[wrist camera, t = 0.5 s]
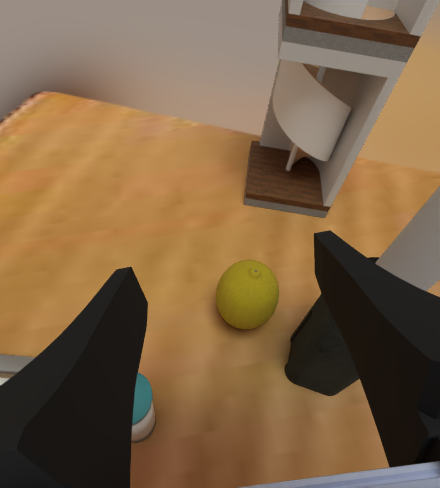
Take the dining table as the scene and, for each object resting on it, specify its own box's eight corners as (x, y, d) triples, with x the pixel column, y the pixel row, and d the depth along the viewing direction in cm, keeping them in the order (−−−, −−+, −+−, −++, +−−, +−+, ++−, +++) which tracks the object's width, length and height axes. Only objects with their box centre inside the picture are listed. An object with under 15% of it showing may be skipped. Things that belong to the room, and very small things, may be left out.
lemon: (216, 345, 30) (227, 304, 24) (208, 293, 34) (216, 245, 27) (273, 339, 31) (298, 298, 25) (260, 289, 34) (279, 241, 28)
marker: (153, 445, 25) (146, 426, 19) (113, 442, 25) (93, 422, 19) (159, 402, 27) (155, 373, 21) (122, 399, 26) (107, 369, 20)
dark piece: (292, 328, 32) (474, 59, 13) (343, 346, 32) (616, 92, 12) (282, 379, 29) (505, 124, 9) (339, 400, 28) (701, 174, 9)
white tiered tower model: (249, 152, 49) (342, -281, 22) (318, 163, 49) (495, -253, 22) (243, 204, 42) (371, -340, 15) (324, 218, 42) (597, -299, 15)
